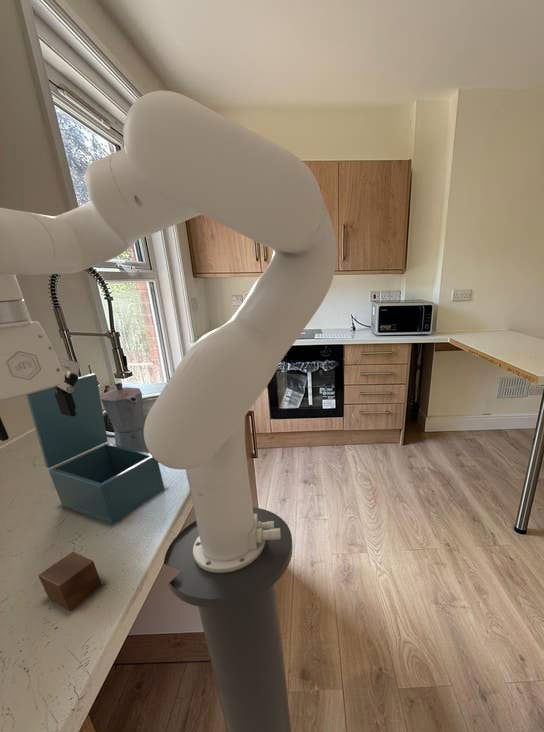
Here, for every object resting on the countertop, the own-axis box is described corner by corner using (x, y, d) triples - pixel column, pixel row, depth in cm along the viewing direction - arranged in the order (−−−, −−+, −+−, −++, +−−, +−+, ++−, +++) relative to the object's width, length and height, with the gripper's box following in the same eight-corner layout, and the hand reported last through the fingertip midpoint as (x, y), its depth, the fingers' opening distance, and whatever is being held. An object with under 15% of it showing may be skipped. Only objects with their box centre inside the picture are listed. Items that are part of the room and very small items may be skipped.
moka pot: (135, 467, 87) (114, 392, 80) (100, 453, 95) (78, 383, 87) (167, 451, 95) (151, 381, 87) (133, 439, 102) (115, 373, 94)
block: (81, 574, 56) (72, 551, 54) (102, 584, 55) (93, 560, 53) (49, 599, 52) (37, 575, 50) (70, 611, 50) (59, 586, 48)
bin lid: (96, 374, 73) (78, 367, 75) (28, 392, 62) (9, 385, 64) (107, 441, 80) (91, 434, 82) (48, 468, 70) (31, 459, 71)
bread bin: (164, 489, 78) (156, 454, 75) (112, 525, 67) (100, 486, 64) (116, 475, 84) (107, 442, 81) (62, 505, 74) (48, 469, 70)
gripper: (-80, 325, 40) (-19, 455, 47) (74, 309, 54) (104, 410, 61) (-105, 323, 43) (-44, 445, 50) (46, 308, 57) (78, 405, 64)
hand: (37, 426), depth 55 cm, fingers open, 9 cm apart
